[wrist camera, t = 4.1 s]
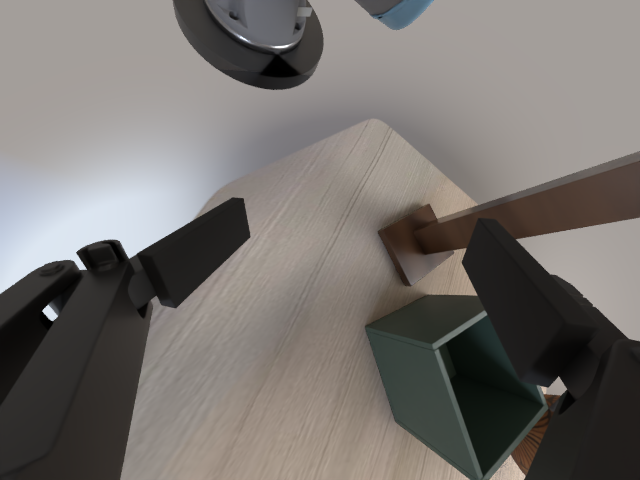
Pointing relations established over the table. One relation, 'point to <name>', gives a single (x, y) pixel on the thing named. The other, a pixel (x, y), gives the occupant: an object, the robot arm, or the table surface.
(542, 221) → the stand
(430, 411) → the trash bin
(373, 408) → the table surface
